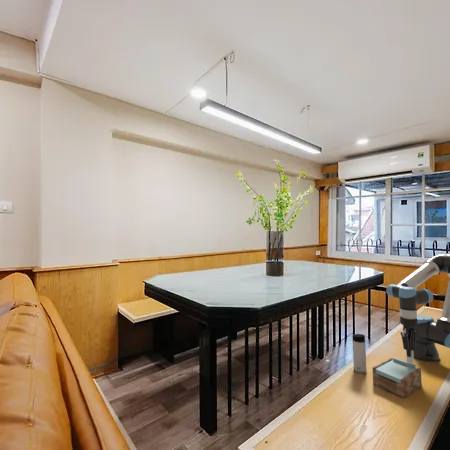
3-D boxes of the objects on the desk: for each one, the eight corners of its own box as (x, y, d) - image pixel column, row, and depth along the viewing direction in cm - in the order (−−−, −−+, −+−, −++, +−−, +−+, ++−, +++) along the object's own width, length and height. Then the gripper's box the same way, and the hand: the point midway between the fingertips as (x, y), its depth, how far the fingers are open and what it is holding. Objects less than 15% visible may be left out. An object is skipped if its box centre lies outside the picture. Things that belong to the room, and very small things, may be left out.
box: (391, 373, 145) (391, 357, 145) (421, 385, 133) (420, 368, 134) (373, 384, 136) (372, 367, 136) (403, 398, 124) (402, 379, 124)
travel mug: (360, 375, 145) (358, 337, 145) (351, 369, 151) (349, 333, 152) (369, 373, 146) (368, 335, 147) (360, 367, 153) (359, 331, 153)
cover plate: (393, 363, 144) (392, 356, 144) (418, 372, 134) (417, 365, 134) (375, 373, 135) (375, 365, 135) (400, 383, 125) (400, 376, 125)
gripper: (406, 313, 150) (408, 356, 149) (394, 317, 143) (396, 363, 142) (422, 316, 143) (424, 361, 142) (410, 321, 136) (412, 368, 136)
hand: (410, 362), depth 142 cm, fingers closed
